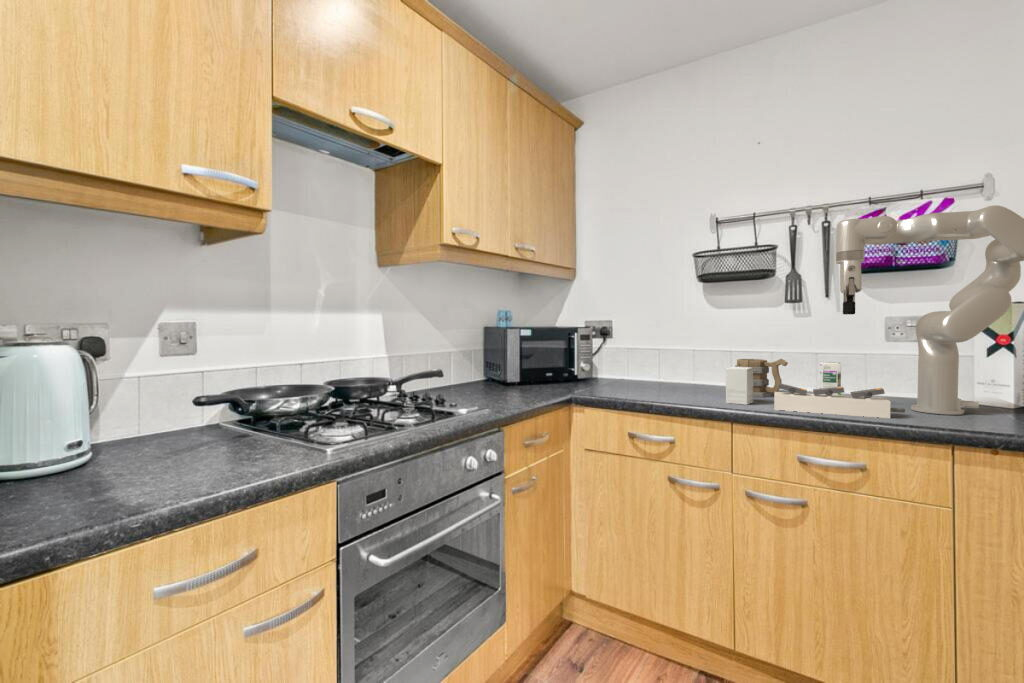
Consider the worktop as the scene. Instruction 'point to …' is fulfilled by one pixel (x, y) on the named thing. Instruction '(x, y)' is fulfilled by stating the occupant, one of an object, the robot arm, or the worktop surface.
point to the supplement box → (739, 385)
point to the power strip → (834, 404)
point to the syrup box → (830, 375)
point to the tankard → (763, 375)
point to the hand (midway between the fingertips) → (848, 314)
